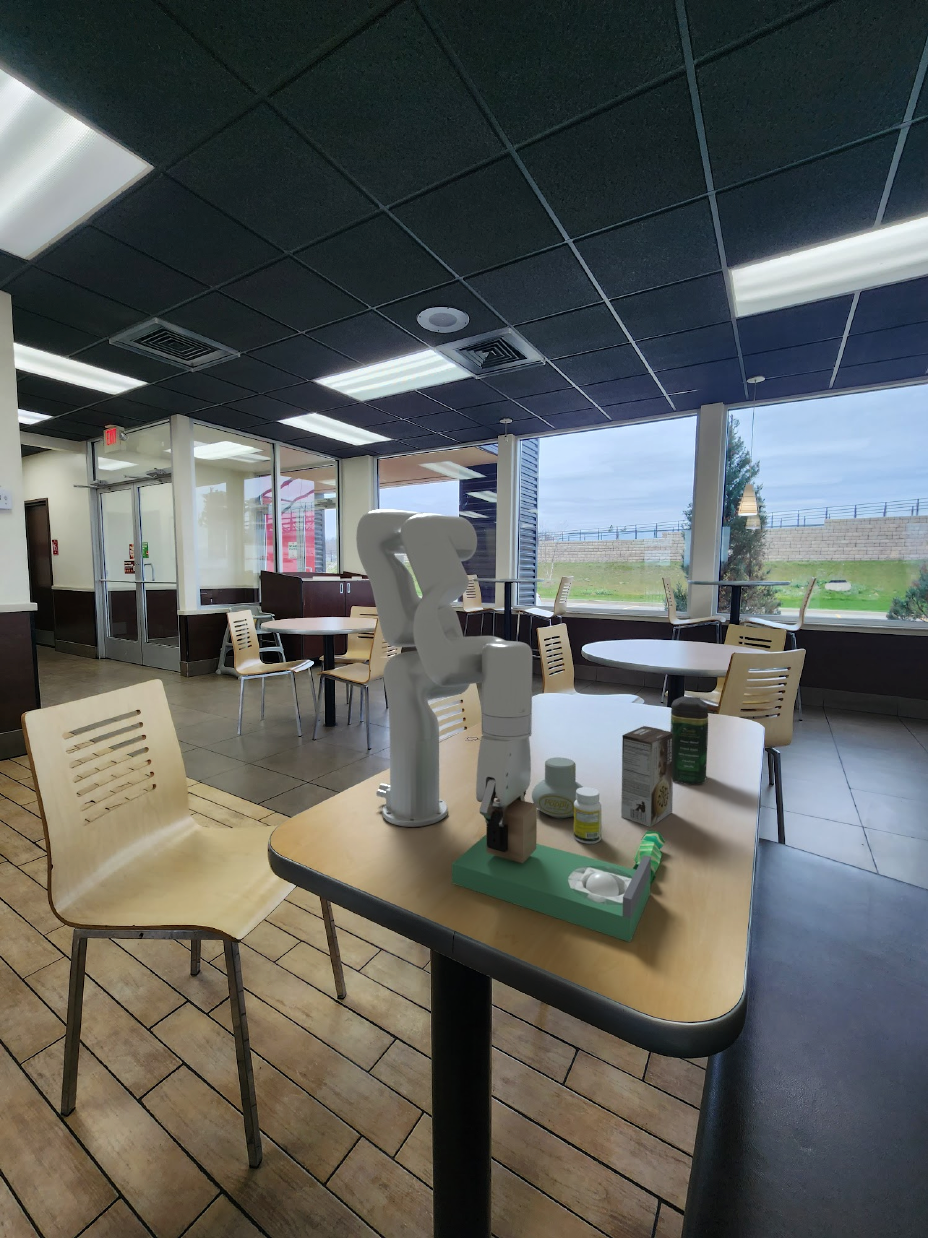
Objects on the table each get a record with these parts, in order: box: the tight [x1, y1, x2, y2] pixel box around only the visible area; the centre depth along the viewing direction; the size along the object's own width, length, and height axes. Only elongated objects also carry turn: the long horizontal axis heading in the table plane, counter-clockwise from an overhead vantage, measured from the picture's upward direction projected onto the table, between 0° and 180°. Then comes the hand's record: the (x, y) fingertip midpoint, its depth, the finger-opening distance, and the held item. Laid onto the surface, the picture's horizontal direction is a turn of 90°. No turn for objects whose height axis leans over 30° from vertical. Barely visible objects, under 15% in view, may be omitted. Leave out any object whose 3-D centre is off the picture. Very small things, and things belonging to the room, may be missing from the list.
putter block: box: [485, 798, 538, 863], centre depth 80 cm, size 6×5×7 cm
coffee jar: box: [669, 695, 709, 785], centre depth 121 cm, size 10×8×19 cm
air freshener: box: [531, 756, 584, 819], centre depth 104 cm, size 11×8×10 cm
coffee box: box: [620, 725, 674, 828], centre depth 102 cm, size 9×6×16 cm
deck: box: [451, 834, 651, 943], centre depth 77 cm, size 26×12×6 cm, turn 60°
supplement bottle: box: [573, 786, 602, 845], centre depth 93 cm, size 5×5×8 cm
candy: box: [631, 830, 666, 886], centre depth 84 cm, size 12×3×4 cm
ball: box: [586, 872, 619, 897], centre depth 73 cm, size 4×4×4 cm
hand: (505, 840), depth 81 cm, fingers closed on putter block, 4 cm apart
